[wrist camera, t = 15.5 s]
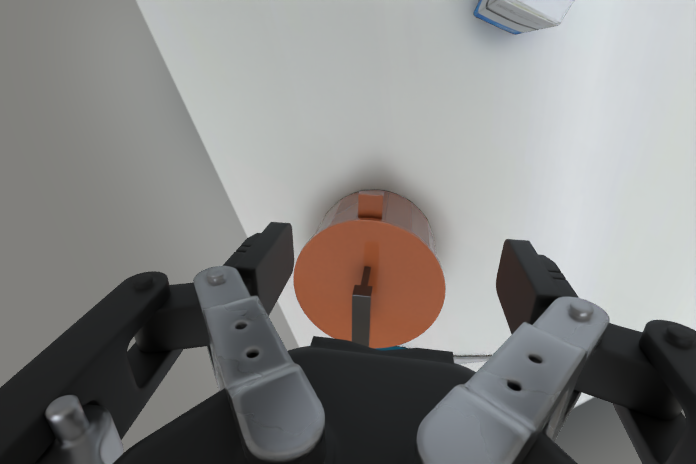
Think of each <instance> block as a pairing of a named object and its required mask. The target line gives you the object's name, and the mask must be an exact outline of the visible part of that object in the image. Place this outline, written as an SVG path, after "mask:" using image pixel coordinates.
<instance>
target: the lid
mask: <svg viewBox="0 0 696 464" xmlns="http://www.w3.org/2000/svg"><path fill="white" fill-rule="evenodd" d="M294 289H295V293H296V297H297V300H298V302H299V304H300V306H301V308H302V310H303V311H304V313H305V314H306V315H307V317H308V318H309V319H310V320H311V321H312V322H313V323H314V324H315V325H316V326H317V327H318V328H319V329H320V330H322V331H323V332H324V333H326V334H328V335H329V336H331V337H333V338H335V339H343V340H348V341H351V342H355V343H358V344H361V345H364V346H367V347H371V348H386V347H393V346H397V345H401V344H403V343H406V342H409V341H411V340H413V339H414V338H416V337H418V336H419V335H421V334H422V333H424V332H425V331H426V330H427V329H428V328H429V327H430V326H431V325H432V324H433V322H434V321H435V320H436V318H437V317H438V315H439V313H440V311H441V309H442V306H443V303H444V299H445V278H444V274H443V270H442V267H441V265H440V262H439V260H438V258H437V257H436V255H435V253H434V252H433V250H432V249H431V248H430V247H429V246H428V245H427V243H426V242H424V241H423V240H422V239H421V238H420V237H419V236H417V235H416V234H415V233H413V232H412V231H410V230H408V229H406V228H404V227H403V226H401V225H398V224H395V223H393V222H389V221H385V220H382V219H374V218H354V219H347V220H343V221H339V222H336V223H334V224H331V225H329V226H327V227H325V228H324V229H322V230H320V231H319V232H318V233H316V234H315V235H314V236H313V237H312V238H311V239H310V240H309V241H308V242H307V243H306V245H305V246H304V247H303V249H302V251H301V253H300V255H299V257H298V258H297V262H296V265H295V269H294Z"/></svg>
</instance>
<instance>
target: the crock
mask: <svg viewBox="0 0 696 464" xmlns="http://www.w3.org/2000/svg"><path fill="white" fill-rule="evenodd" d="M354 218H374V219H382V220H385V221H389V222H393V223H395V224H398V225H401V226H403V227H404V228H406V229H408V230H410V231H412V232H413V233H415V234H416V235H417V236H419V237H420V238H421V239H422V240H423V241H424V242H426V243H427V245H428V246H429V247H430V248H431V249H432V250H433V252H434V253H435V255H436V251H435V242H434V237H433V234H432V231H431V227H430V225H429V223H428V220H427V218H426V217H425V216H424V214H423V213H422V212H421V210H420V209H419V208H418V207H417V206H416V205H415V204H413V203H412V202H411V201H409V200H408V199H406V198H404V197H402V196H400V195H398V194H395V193H392V192H388V191H383V190H365V191H359V192H356V193H353V194H351V195H348V196H346V197H344V198H342V199H341V200H340V201H339V202H337V203H336V204H335V205H334V206H333V207H332V208H331V209H330V210H329V211H328V212H327V213H326V215H325V217H324V219H323V221H322V222H321V224H320V226H319V228H318V230H317V232H316V233H318V232H319V231H320V230H322V229H324V228H325V227H327V226H329V225H331V224H334V223H336V222H339V221H343V220H347V219H354ZM374 349H376V348H374Z"/></svg>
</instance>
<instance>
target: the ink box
mask: <svg viewBox="0 0 696 464" xmlns="http://www.w3.org/2000/svg"><path fill="white" fill-rule="evenodd" d="M573 2H574V0H480V1H479V3H478V5H477V7H476V9H475V11H474V15H475V16H476V17H478V18H480V19H482V20H484V21H486V22H488V23H490V24H493V25H495V26H497V27H499V28H501V29H503V30H506V31H508V32H510V33H513V34H520V33H525V32H529V31H534V30H539V29H543V28H548V27H553V26H558V25H559V24H560V23H561V21H562V19H563V18H564V16H565V14H566V13H567V11H568V10H569V8H570V6H571V5H572V3H573Z"/></svg>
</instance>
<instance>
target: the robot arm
mask: <svg viewBox="0 0 696 464" xmlns="http://www.w3.org/2000/svg"><path fill="white" fill-rule="evenodd" d="M293 267H294V250H293V235H292V226H291V224H290V223H279V222H271V223H270V224H269V225H268V226H267V227H266V228H265V230H264V231H263V232H262V233H256V234H254V235H252V236H251V237H249V238H247V239H246V240H245V241H244V242H243V243H242V245H241V246H240V247H239V248H238V249H237V250H236V252H234V254H233V255H232V256H231V257H230V258H229V259H228V260H227V261H226V262H225V264H224V265H223V266H216V267H211V268H208V269H205V270H203V271H201V272H199V273H198V274H197V275H196V276H195V278H194V280H193V281H194V283H186V284H177V285H169V282H168V278H167V276H166V275H165V274H164V273H161V272H144V273H140V274H137V275H134V276H132V277H130V278H128V279H126V280H124V281H123V282H122V283H121V284H120V285H118V286H117V287H116V288H115V289H114V290H113V291H112V292H110V293H109V294H108V295H107V296H106V297H105V298H104V299H102V300H101V301H100V302H99V303H98V304H97V305H95V306H94V307H93V308H92V309H91V310H90V311H88V312H87V313H86V314H85V315H84V316H83V317H82V318H80V319H79V320H78V321H77V322H76V323H75V324H73V325H72V326H71V327H70V328H69V329H68V330H66V331H65V332H64V333H63V334H62V335H61V336H60V337H58V338H57V339H56V340H55V341H54V342H53V343H51V344H50V345H49V346H48V347H47V348H46V349H45V350H43V351H42V352H41V353H40V354H39V355H38V356H37V357H35V358H34V359H33V360H32V361H31V362H30V363H28V364H27V365H26V366H25V367H24V368H23V369H21V370H20V371H19V372H18V373H17V374H16V375H15V376H13V377H12V378H11V379H10V380H9V381H8V382H6V383H5V384H4V385H3V386H2V387H1V388H0V464H577V463H576V462H575V461H574V460H573V459H572V458H571V457H570V456H569V455H567V453H565V452H564V451H563V450H562V449H561V448H560V447H559V446H558V445H557V444H556V443H555V440H556V438H557V436H558V434H559V432H560V430H561V428H562V427H563V425H564V423H565V421H566V420H567V418H568V416H569V414H570V413H571V411H572V409H573V407H574V406H575V404H576V402H577V400H578V399H579V397H580V395H581V392H582V393H585V394H588V395H591V396H594V397H597V398H600V399H603V400H605V401H608V402H611V403H613V405H614V407H615V410H616V412H617V414H618V415H619V418H620V420H621V422H622V424H623V425H624V428H625V430H626V432H627V434H628V435H629V438H630V440H631V441H632V444H633V446H634V447H635V450H636V452H637V454H638V456H639V458H640V460H641V461H642V464H696V331H695V330H693V329H691V328H689V327H686V326H684V325H681V324H678V323H675V322H671V321H665V320H653V321H650V322H648V323H647V324H646V326H645V328H644V331H643V332H639V331H635V330H632V329H628V328H624V327H621V326H617V325H614V324H611V323H609V321H610V320H609V316H608V314H607V313H606V312H605V311H604V310H603V309H602V308H600V307H599V306H597V305H596V304H594V303H592V302H589V301H587V300H584V299H580V298H579V297H578V296H577V294H576V293H575V291H574V290H573V288H572V287H571V285H570V284H569V283H568V281H567V280H566V278H565V277H564V275H563V274H562V273H561V271H560V269H559V268H558V266H557V265H556V264H555V263H554V262H553V261H552V260H550V259H549V258H547V257H546V256H544V255H538V254H537V253H536V251H535V249H534V248H533V246H532V245H531V243H530V242H529V241H525V240H511V239H506V240H505V242H504V245H503V250H502V254H501V259H500V264H499V269H498V273H497V279H496V290H497V294H498V297H499V300H500V303H501V306H502V308H503V311H504V314H505V317H506V320H507V322H508V325H509V328H510V331H511V334H512V335H511V336H510V337H509V338H508V339H507V340H506V341H505V342H504V344H503V345H502V346H501V347H500V348H499V349H498V350H497V351H496V352H495V353H494V354H493V355H492V356H491V357H490V358H489V359H488V361H487V362H486V363H485V364H484V365H483V366H482V367H481V368H480V369H479V370H478V371H477V372H474V371H473V370H471V369H469V368H466V367H464V366H462V365H459V364H456V363H454V359H453V352H449V351H440V350H431V349H422V348H409V349H396V350H377V349H374V348H371V347H367V346H364V345H361V344H358V343H355V342H351V341H348V340H343V339H334V338H325V337H316V336H313V339H312V342H311V345H310V346H306V347H300V348H296V349H292V350H289V351H287V350H286V348H285V346H284V344H283V342H282V340H281V338H280V337H279V335H278V333H277V331H276V329H275V327H274V326H273V324H272V322H271V320H270V318H269V314H270V312H271V311H272V309H273V307H274V305H275V303H276V302H277V300H278V298H279V296H280V294H281V292H282V291H283V289H284V287H285V285H286V283H287V281H288V280H289V278H290V276H291V274H292V271H293ZM133 337H135V340H136V342H135V344H134V345H133V346H132V347H131V348H130V349H129V351H128V352H127V348H128V345H129V343H130V341H131V339H132V338H133ZM203 346H207V349H208V353H209V357H210V360H211V364H212V367H213V371H214V375H215V378H216V382H217V385H218V389H219V392H218V393H216V394H214V395H213V396H211V397H210V398H208V399H206V400H205V401H203V402H201V403H200V404H198V405H197V406H195V407H193V408H192V409H190V410H189V411H187V412H186V413H184V414H182V415H181V416H179V417H178V418H176V419H174V420H173V421H171V422H170V423H168V424H166V425H165V426H163V427H162V428H160V429H159V430H157V431H155V432H154V433H152V434H150V435H149V436H147V437H146V438H144V439H142V440H141V441H139V442H138V443H136V444H135V445H134V446H132V447H131V448H129V449H128V450H127V451H126V452H124V453H123V445H122V442H121V440H122V438H123V437H124V435H125V434H126V432H127V431H128V430H129V428H130V427H131V425H132V424H133V422H134V421H135V419H136V418H137V416H138V415H139V414H140V412H141V411H142V409H143V408H144V406H145V405H146V403H147V402H148V400H149V399H150V397H151V396H152V395H153V393H154V392H155V390H156V389H157V387H158V386H159V384H160V383H161V381H162V380H163V378H164V377H165V375H166V374H167V373H168V371H169V370H170V368H171V367H172V365H173V364H174V363H175V361H176V359H177V358H178V357H179V355H180V354H181V352H182V351H183V349H187V348H194V347H203ZM682 409H683V411H684V413H685V417H686V418H685V417H684V415H683V414H682V413H681V411H682Z"/></svg>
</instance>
